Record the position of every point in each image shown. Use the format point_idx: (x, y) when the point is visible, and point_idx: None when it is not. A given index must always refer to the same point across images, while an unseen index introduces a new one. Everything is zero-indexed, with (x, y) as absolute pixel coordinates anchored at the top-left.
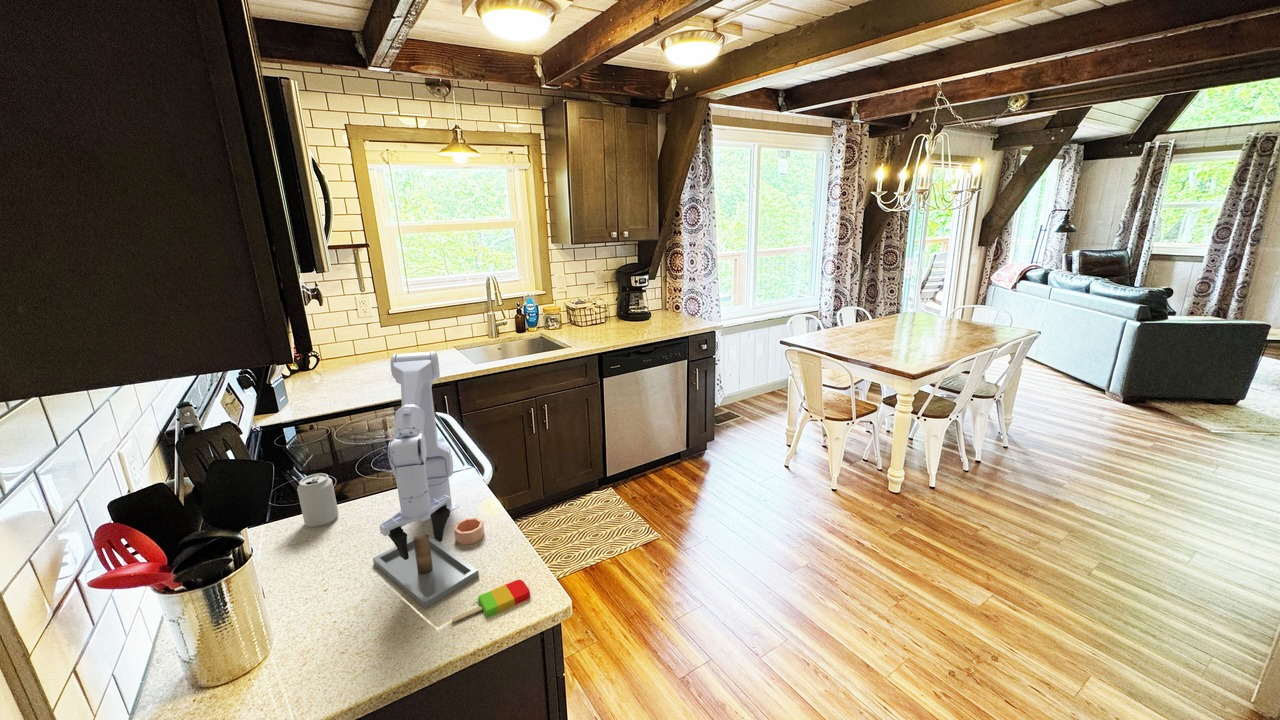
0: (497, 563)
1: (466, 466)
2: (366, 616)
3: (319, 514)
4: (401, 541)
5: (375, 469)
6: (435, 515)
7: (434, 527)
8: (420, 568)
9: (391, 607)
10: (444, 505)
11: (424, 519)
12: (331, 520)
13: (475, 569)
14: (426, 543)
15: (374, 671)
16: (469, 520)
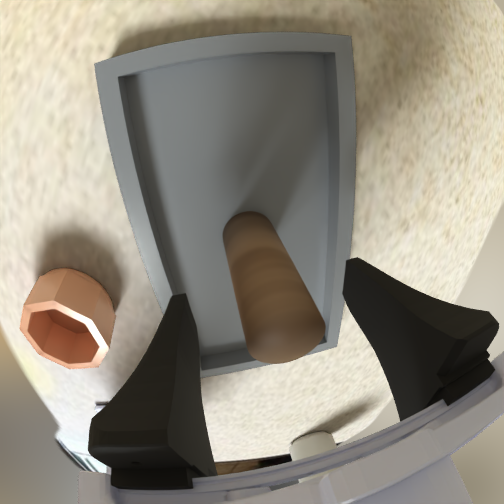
0: (26, 116)
1: (82, 456)
2: (429, 163)
3: (325, 449)
4: (450, 312)
5: None
6: (195, 445)
7: (195, 375)
8: (275, 231)
9: (387, 143)
10: (124, 488)
11: (419, 448)
12: (306, 438)
13: (100, 74)
14: (269, 294)
15: (463, 3)
16: (60, 357)
